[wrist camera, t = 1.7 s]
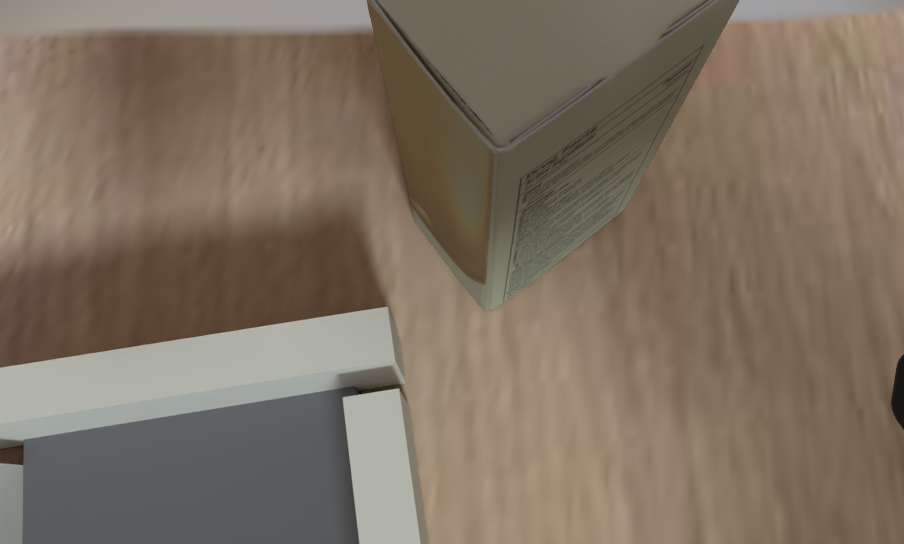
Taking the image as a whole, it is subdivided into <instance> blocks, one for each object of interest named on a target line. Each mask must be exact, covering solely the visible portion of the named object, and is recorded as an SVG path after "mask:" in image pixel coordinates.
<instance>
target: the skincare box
mask: <svg viewBox="0 0 904 544" xmlns="http://www.w3.org/2000/svg"><path fill="white" fill-rule="evenodd" d="M738 2H739V0H367V4H368V10H369V14H370V18H371V22H372V26H373V31H374V36H375V42H376V46H377V51H378V55H379V60H380V64H381V69H382V74H383V79H384V83H385V88H386V93H387V97H388V101H389V106H390V111H391V116H392V120H393V124H394V130H395V135H396V139H397V144H398V149H399V153H400V158H401V162H402V167H403V171H404V175H405V180H406V184H407V189H408V194H409V199H410V204H411V209H412V213H413V218H414V220H415V222H416V223H417V225H418V226H419V227H420V229H421V230H422V231H423V233H424V234H425V236H426V237H427V238H428V240H429V241H430V243H431V244H432V245H433V247H434V248H435V249H436V250H437V251H438V253H439V254H440V256H441V257H442V258H443V260H444V261H445V262H446V264H447V265H448V266H449V267H450V269H451V270H452V271H453V273H454V274H455V275H456V277H457V278H458V279H459V280H460V282H461V283H462V284H463V285H464V287H465V288H466V289H467V290H468V291H469V293H470V294H471V295H472V297H473V298H474V299H475V300H476V301H477V303H478V304H479V305H480V306H481V307H482V308H483V309H484V310H487V311H491V310H493V309H495V308H496V307H498V306H499V305H500V304H502V303H503V302H505V301H506V300H508V299H509V298H510V297H512V296H513V295H515V294H516V293H518V292H519V291H520V290H522V289H523V288H524V287H526V286H527V285H528V284H530V283H531V282H532V281H534V280H535V279H537V278H538V277H539V276H541V275H542V274H543V273H545V272H546V271H547V270H549V269H550V268H551V267H553V266H554V265H555V264H557V263H558V262H559V261H560V260H562V259H563V258H564V257H566V256H567V255H568V254H570V253H571V252H572V251H574V250H575V249H576V248H577V247H579V246H580V245H581V244H583V243H584V242H585V241H586V240H588V239H589V238H590V237H591V236H593V235H594V234H595V233H596V232H598V231H599V230H600V229H601V228H603V227H604V226H605V225H606V224H607V223H609V222H610V221H611V220H612V219H613V218H615V217H616V216H617V215H618V214H620V213H621V212H622V211H623V210H624V209H625V208H626V206H627V204H628V203H629V201H630V199H631V197H632V195H633V193H634V191H635V190H636V188H637V186H638V184H639V182H640V181H641V179H642V177H643V175H644V173H645V171H646V169H647V167H648V166H649V164H650V162H651V160H652V158H653V157H654V155H655V153H656V151H657V149H658V148H659V146H660V144H661V142H662V140H663V139H664V137H665V135H666V133H667V131H668V129H669V127H670V126H671V124H672V122H673V120H674V118H675V116H676V115H677V113H678V111H679V109H680V107H681V106H682V104H683V102H684V100H685V98H686V97H687V95H688V93H689V91H690V89H691V88H692V86H693V84H694V82H695V80H696V79H697V77H698V75H699V73H700V71H701V69H702V68H703V66H704V64H705V62H706V60H707V58H708V57H709V55H710V53H711V51H712V50H713V48H714V46H715V44H716V42H717V40H718V38H719V36H720V34H721V33H722V31H723V29H724V27H725V25H726V24H727V22H728V20H729V18H730V17H731V15H732V13H733V11H734V9H735V7H736V5H737V4H738Z"/></svg>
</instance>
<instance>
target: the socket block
mask: <svg viewBox="0 0 904 544" xmlns="http://www.w3.org/2000/svg"><path fill="white" fill-rule="evenodd" d="M404 383H406V381H405V374H404V367H403V360H402V353H401V346H400V339H399V335H398V333H397V330H396V327H395V325H394V322H393V319H392V317H391V314H390V311H389V309H388V307H382V308H375V309H369V310H363V311H356V312H350V313H344V314H337V315H331V316H325V317H318V318H312V319H306V320H299V321H293V322H287V323H280V324H274V325H268V326H261V327H255V328H249V329H242V330H236V331H230V332H223V333H217V334H211V335H204V336H198V337H192V338H185V339H179V340H173V341H166V342H160V343H154V344H147V345H141V346H135V347H128V348H122V349H116V350H109V351H103V352H97V353H90V354H84V355H78V356H71V357H65V358H59V359H52V360H46V361H40V362H33V363H27V364H21V365H14V366H8V367H2V368H0V449H2V448H9V447H15V446H21V445H24V458H23V465H16V464H3V463H0V544H429V543H428V536H427V529H426V522H425V515H424V508H423V501H422V494H421V487H420V480H419V473H418V466H417V459H416V451H415V444H414V437H413V430H412V423H411V416H410V409H409V405H408V404H407V402H406V400H405V398H404V396H403V395H402V393H401V391H400V389H399V388H397V389H391V390H385V391H379V392H373V393H367V394H359V391H361V390H367V389H373V388H379V387H385V386H391V385H398V384H404Z"/></svg>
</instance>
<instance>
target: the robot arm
mask: <svg viewBox="0 0 904 544" xmlns="http://www.w3.org/2000/svg"><path fill="white" fill-rule="evenodd" d="M891 407H892V411H893V414H894V416H895V418H896V420H897V421H898V423H899V424H900V425H901V427H902V428H903V429H904V355H903V356H901V358H900V359H899V360H898V363H897V368H896V374H895V380H894V386H893V392H892V398H891Z"/></svg>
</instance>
